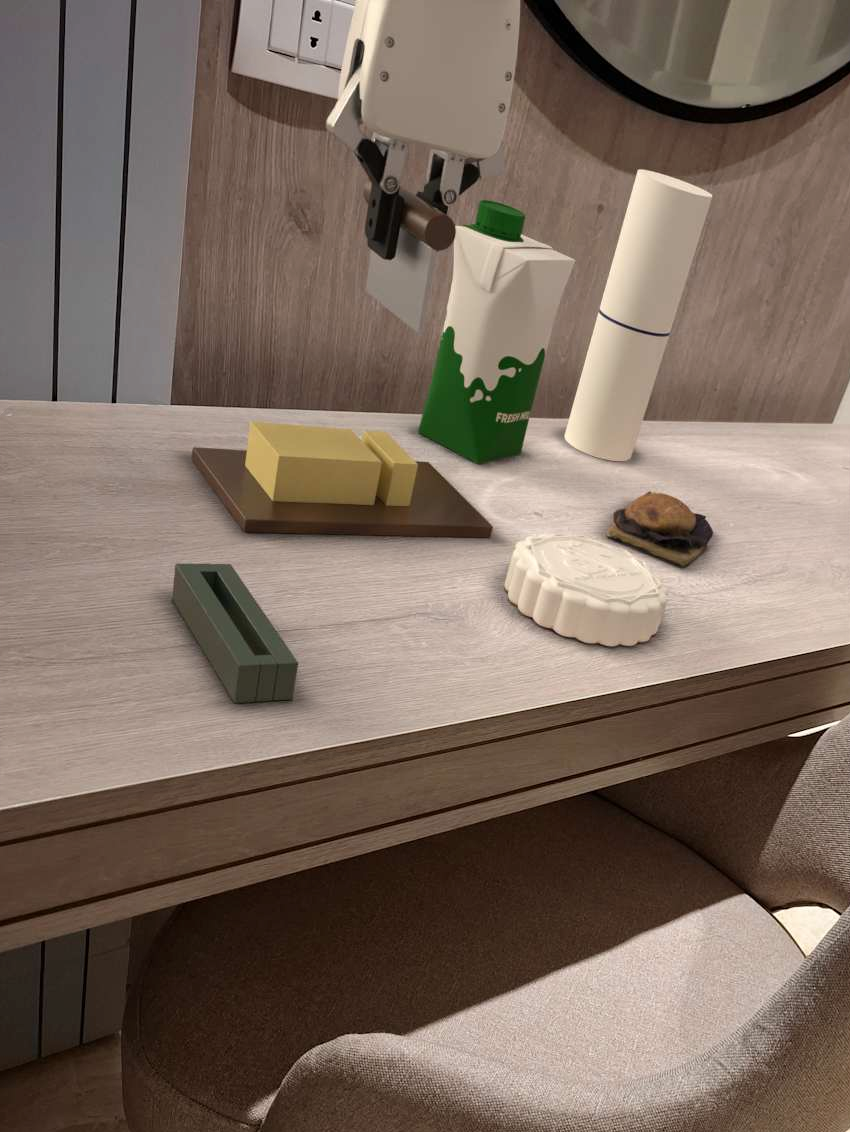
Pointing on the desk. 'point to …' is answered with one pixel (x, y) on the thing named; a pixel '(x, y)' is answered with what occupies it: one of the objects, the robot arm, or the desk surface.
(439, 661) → the desk surface
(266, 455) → the butter block
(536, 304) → the milk carton
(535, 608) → the mooncake
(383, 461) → the butter slice
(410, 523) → the butter board
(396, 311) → the butter cutter
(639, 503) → the open sandwich
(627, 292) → the cylindrical container
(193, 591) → the holder
